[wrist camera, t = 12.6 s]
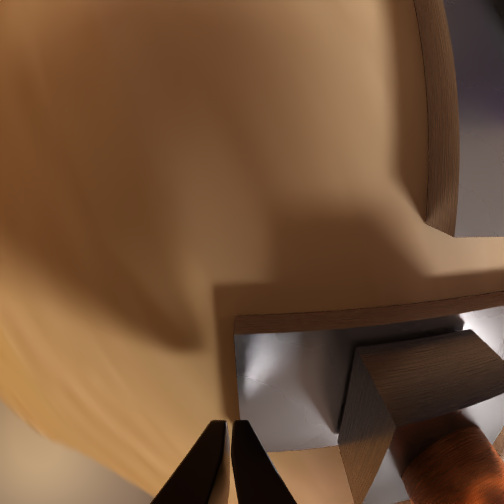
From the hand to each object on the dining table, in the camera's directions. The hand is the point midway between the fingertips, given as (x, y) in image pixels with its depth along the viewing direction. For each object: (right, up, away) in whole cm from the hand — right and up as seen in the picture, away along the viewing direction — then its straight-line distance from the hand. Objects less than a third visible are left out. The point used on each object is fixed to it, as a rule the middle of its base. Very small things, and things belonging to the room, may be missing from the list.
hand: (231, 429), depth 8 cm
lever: (+5, +1, +1) cm, 5 cm away
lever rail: (+7, +1, +2) cm, 7 cm away
